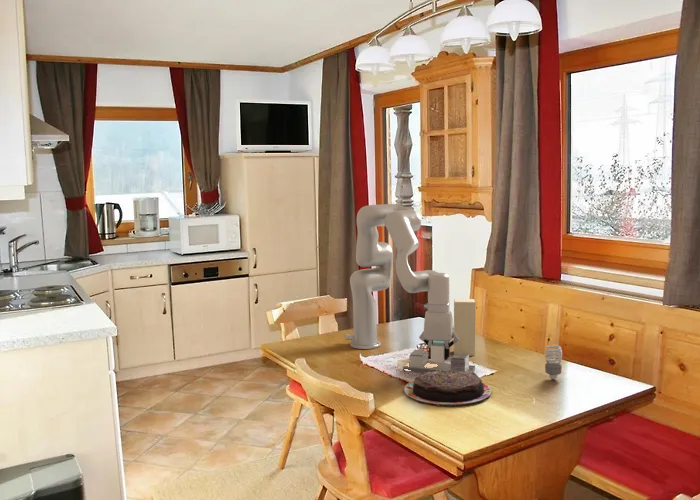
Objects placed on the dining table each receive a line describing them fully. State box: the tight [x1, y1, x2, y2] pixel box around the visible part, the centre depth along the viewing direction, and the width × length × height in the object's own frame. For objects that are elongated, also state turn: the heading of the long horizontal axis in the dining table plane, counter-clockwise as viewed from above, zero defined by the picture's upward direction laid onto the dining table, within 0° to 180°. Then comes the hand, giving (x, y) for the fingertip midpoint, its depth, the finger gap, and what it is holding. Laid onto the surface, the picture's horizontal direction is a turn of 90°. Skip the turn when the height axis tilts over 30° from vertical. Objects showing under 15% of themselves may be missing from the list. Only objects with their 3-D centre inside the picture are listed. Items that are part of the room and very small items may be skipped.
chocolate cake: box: [403, 369, 493, 407], centre depth 213 cm, size 28×28×7 cm
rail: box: [402, 349, 476, 374], centre depth 237 cm, size 24×9×6 cm, turn 69°
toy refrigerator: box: [453, 298, 476, 357], centre depth 257 cm, size 8×7×21 cm
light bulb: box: [544, 344, 563, 381], centre depth 223 cm, size 6×6×12 cm
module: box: [430, 341, 446, 363], centre depth 236 cm, size 4×6×6 cm
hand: (439, 357), depth 236 cm, fingers closed on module, 4 cm apart
